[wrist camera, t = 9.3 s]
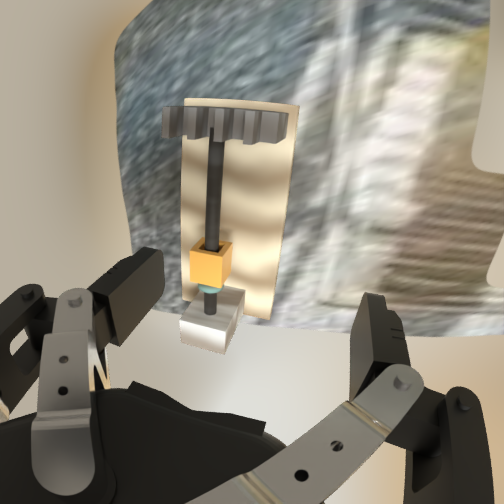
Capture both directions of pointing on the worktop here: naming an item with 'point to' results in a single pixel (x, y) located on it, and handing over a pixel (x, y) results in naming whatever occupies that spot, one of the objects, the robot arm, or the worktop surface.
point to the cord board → (232, 206)
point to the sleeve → (210, 264)
